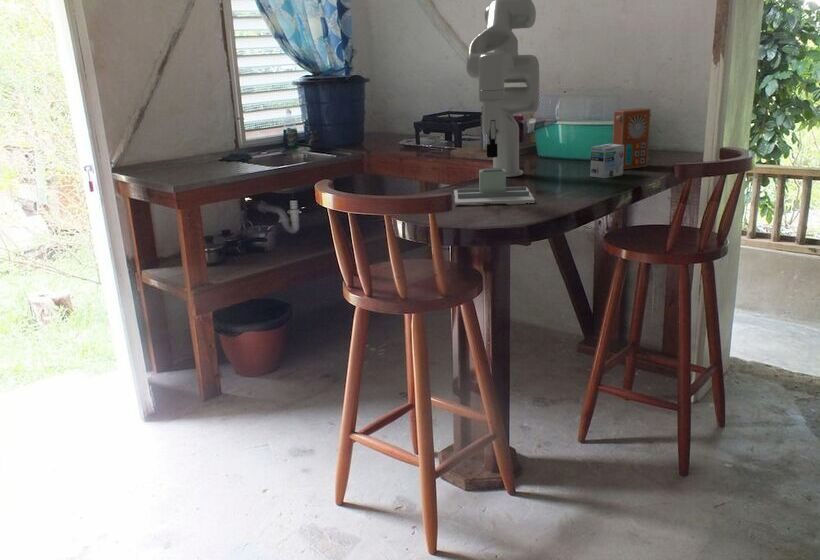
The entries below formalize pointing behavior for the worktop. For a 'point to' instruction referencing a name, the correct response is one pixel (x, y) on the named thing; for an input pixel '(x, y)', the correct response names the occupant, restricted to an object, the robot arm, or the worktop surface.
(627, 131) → the control panel
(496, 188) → the block
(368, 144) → the worktop surface
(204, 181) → the worktop surface
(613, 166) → the light bulb box
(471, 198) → the rail plate
